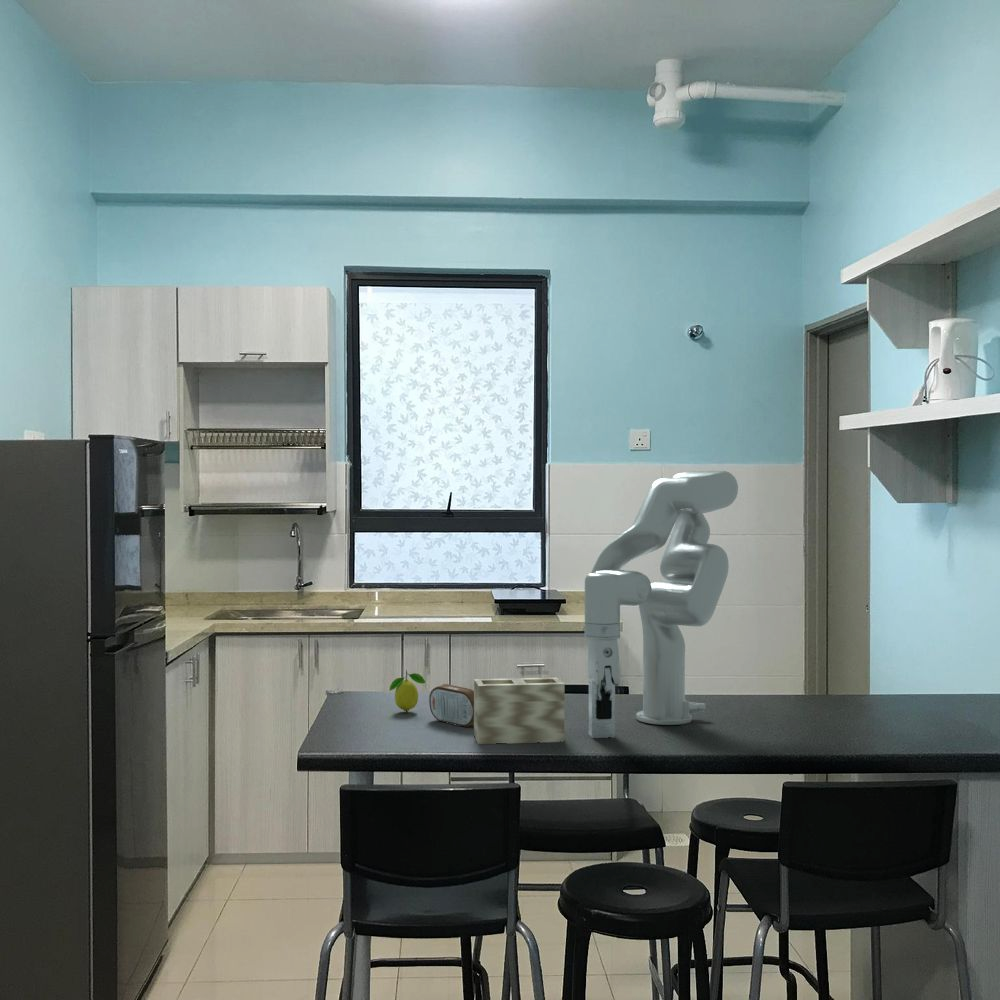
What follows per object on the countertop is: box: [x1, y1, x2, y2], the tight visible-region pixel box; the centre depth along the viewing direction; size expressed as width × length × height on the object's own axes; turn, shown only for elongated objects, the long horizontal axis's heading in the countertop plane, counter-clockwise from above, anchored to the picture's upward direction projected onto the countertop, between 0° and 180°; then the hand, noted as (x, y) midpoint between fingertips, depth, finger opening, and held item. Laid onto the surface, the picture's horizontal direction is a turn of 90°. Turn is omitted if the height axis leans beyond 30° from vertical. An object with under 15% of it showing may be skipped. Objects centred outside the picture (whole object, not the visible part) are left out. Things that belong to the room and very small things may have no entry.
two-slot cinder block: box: [473, 677, 565, 745], centre depth 211 cm, size 18×8×12 cm, turn 98°
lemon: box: [389, 669, 426, 712], centre depth 238 cm, size 7×6×10 cm
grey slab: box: [588, 678, 616, 739], centre depth 213 cm, size 5×3×12 cm, turn 98°
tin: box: [428, 683, 474, 728], centre depth 225 cm, size 15×3×8 cm, turn 47°
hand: (602, 716), depth 213 cm, fingers closed on grey slab, 3 cm apart
